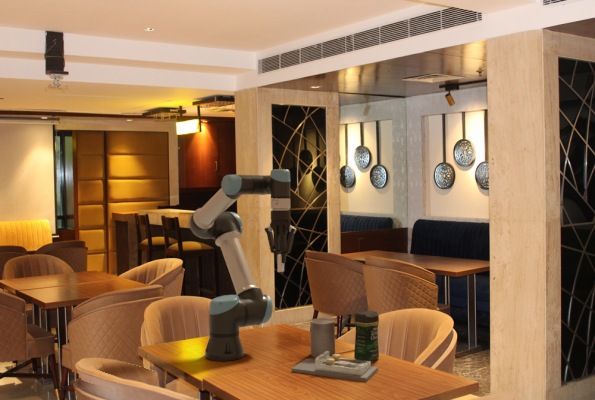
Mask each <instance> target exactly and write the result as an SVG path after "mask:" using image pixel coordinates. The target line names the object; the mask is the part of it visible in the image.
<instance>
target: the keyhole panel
mask: <svg viewBox="0 0 595 400" xmlns="http://www.w3.org/2000/svg"><path fill="white" fill-rule="evenodd" d="M314 358H315V370H319V371H327V372H334V373H342V374H350V375H358V376H362V375H363V374H364V373H365V372H366V371H367V370H368V369H369V368H371V366H372V365H371V364H372V363H371V362H372V361H364V360H356V359H355V358H347V357H341V358H339V360H335V362H334V363H333V365H330V364H328V363H327V362H326V359H328V358H332V357H330V356H329V351H326V352H324V353H323V354H321V355H320V356H318V357H317V358H316V357H314ZM333 359H334V358H333Z"/></svg>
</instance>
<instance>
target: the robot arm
mask: <svg viewBox="0 0 595 400" xmlns="http://www.w3.org/2000/svg"><path fill="white" fill-rule="evenodd" d="M291 179H292V178H291V172H290V170H289V169H285V168H283V169H282V168H281V169H280V168H277V169H275V168H274V169H271V170H270V174H269V175H257V174H249V175H248V174H235V173H234V174H232V173H231V174H226V175H225V176H223V178H222V181H221V184H220V185H221V188H220V189H219V190H218V191H217V192H216V193H215V194H214V195H213V196H212V197H210V199H209V200H208V201H206V203H205V204H204V205H203V206H202V207H198V208H197V209H196V210H195V211H194V212H193V213H191V216H190V217H189V221H188V222H189V229H190V231H191V232H192V234H193V235H194V236H196V237H197V238H200V239H202V240H203V239H204V240H209V239H210V240H214V241H213V242H215V243H214V244H215V245H216V246H217V247H219V248H220V250H221V253H222V256H223V258H224V261H225V265H226V266H227V269H228V273H229V274H230V278H231V281H232V284H233V288H234V290H235V293H236V294H228V295H227V294H224V295H220V296H216V297H215V298H212V299H211V300H210V302H209V311H208V314H209V318H208V319H209V322H208V323H209V337H208V340H207V345H206V347H205V352H204V358H206V359H207V360H210V361H215V362H228V361H235V360H239V359H241V358H244V357H245V356H244V355H245V354H244V352H245V350H244V346H243V344H242V341H241V337H240V328H244V327H250V326H251V327H252V326H260V325H262V324H266V323H268V322H269V321H270V319H271V318H272V316H273V309H274V308H273V307H274V305H273V300H272V298H271V296H270V295H268V294H263V293H264V292H263V291H262V288H261V287H259V286H257V285H256V283H255V279H254V277H253V274H252V271H251V269H250V266H249V264H248V261H247V258H246V256H245V252H244V250H243V248H242V247H243V246H242V245H241V243H240V239H241V237H242V234H243V230H244V229H243V222H242V219H241V217H240V216H239V214H237V213H236V212H233V211H227V209H229V207H231V206H232V205H233V204H234V203H235V202H236V201H237V200H238V199H239V198H240V197H242V196H243V195H244V196H245V195H258V196H260V195H262V196H265V195H266V196H267V195H270V209H271V210H270V223H269V225H268V226H267V227H264V231H265V233H266V235H267V236H266V237H267V242H268V245H269V249H270V253H272V254H274V255H275V260H274V261H275V263H276V264H277V265H276V266H277V273H282V272H285V264H286V262H287V254H290V253H291V252H292V247H293V244H294V238H295V235H296V232H297V231H298V229H297V228H296V227H294V226H292V223H291V210H290V209H291V181H292V180H291ZM288 232H289V233H288Z"/></svg>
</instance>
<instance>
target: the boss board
mask: <svg viewBox="0 0 595 400" xmlns="http://www.w3.org/2000/svg"><path fill="white" fill-rule="evenodd" d="M333 358H334V359H333ZM339 358H342V356H341V354H340V353H335V354H333V355H332V358H328V359H326V362H327V363H328V364H330V365H333V363H334V362H335V360H339ZM378 371H379V366H372V365H371V368H369V369H368V370H367V371H366V372H365V373H364V374H363V375H362V376H358V375H350V374H342V373H334V372H327V371H319V370H315V359H314V358H305V359H304V360H302V361H300V362H299V363H298V364H296V365H295V366H293V367H291V372H292V373H298V374H305V375H313V376H320V377H328V378H337V379H343V380H350V381H351V380H352V381H359V382H365V383H367V382H368V381H367V380H370V379H371V378H372V377H373V376H374V375H375V374H376V373H377V372H378Z"/></svg>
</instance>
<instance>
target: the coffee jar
mask: <svg viewBox="0 0 595 400" xmlns="http://www.w3.org/2000/svg"><path fill="white" fill-rule="evenodd" d="M379 323H380V316H379V313H378V312H377V311H373V310H367V311H361V312H357V313H356V314H354V326H355V339H354V341H355V342H354V355H353V357H354V358H353V359H356V360H364V361H371V362H373V361H376V360H378V359H379V358H380V356H379V355H380V353H379V352H380V351H379V333H378V332H379V330H378V329H379Z"/></svg>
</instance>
